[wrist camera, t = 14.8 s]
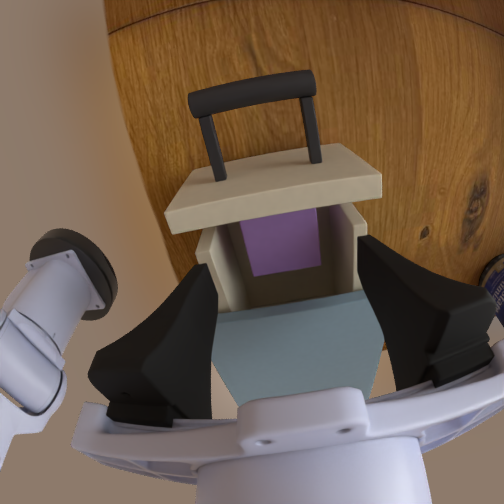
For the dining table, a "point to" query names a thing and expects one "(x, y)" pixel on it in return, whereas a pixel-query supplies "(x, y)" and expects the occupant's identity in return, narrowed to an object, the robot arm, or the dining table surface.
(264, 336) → the grey drawer box
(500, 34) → the dining table surface
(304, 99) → the beige drawer
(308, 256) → the cube
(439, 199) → the dining table surface
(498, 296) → the pill bottle
